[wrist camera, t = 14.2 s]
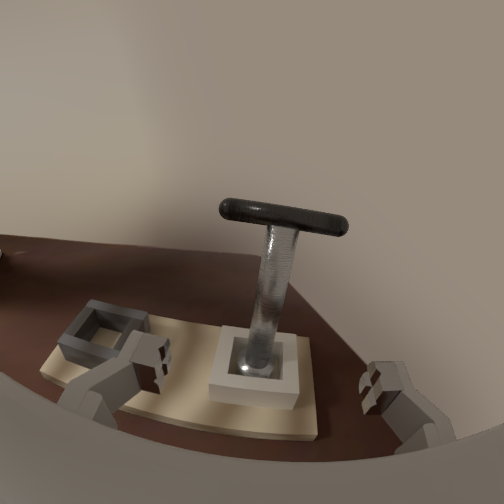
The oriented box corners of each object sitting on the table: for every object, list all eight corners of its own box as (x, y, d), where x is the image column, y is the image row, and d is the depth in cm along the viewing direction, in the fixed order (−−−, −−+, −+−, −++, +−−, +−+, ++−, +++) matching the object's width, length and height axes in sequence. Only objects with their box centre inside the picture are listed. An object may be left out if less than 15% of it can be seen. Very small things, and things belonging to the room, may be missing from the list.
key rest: (208, 400, 24) (208, 383, 23) (221, 343, 32) (222, 325, 30) (292, 409, 24) (299, 393, 23) (290, 352, 32) (296, 334, 30)
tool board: (44, 378, 23) (29, 352, 21) (93, 309, 35) (87, 283, 33) (313, 440, 22) (327, 420, 20) (306, 345, 35) (314, 319, 33)
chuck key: (205, 381, 26) (214, 204, 18) (211, 355, 30) (224, 190, 22) (298, 393, 26) (357, 226, 18) (296, 367, 30) (344, 209, 21)
